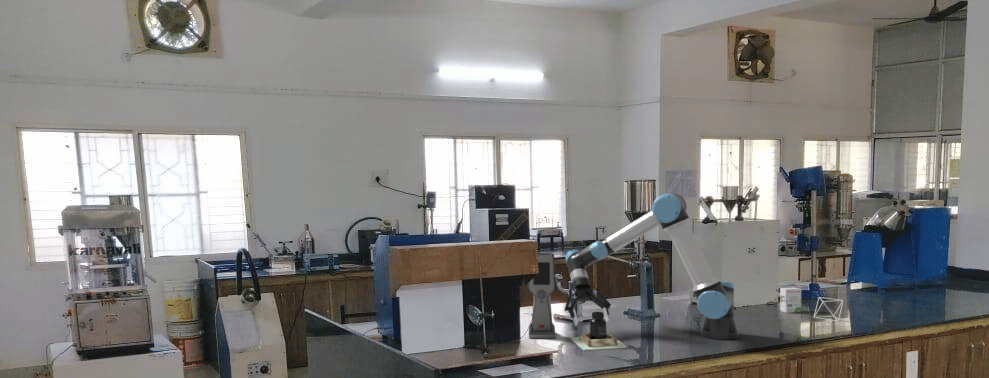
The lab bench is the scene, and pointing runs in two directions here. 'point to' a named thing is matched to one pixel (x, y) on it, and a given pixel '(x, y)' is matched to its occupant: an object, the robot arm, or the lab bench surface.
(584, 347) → the mat
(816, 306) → the geometric polyhedron
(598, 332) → the supplement bottle
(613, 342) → the wooden square frame
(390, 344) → the lab bench surface
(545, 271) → the thermal camera
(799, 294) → the ink box
